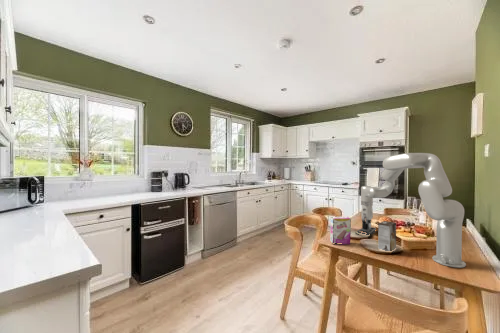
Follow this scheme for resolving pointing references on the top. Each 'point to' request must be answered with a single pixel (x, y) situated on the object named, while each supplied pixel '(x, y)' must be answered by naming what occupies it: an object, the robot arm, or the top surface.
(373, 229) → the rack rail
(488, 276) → the top surface
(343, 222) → the candy bar box
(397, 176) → the robot arm
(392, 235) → the coffee box
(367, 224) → the nut block
